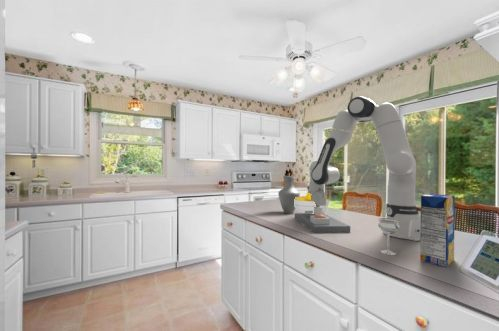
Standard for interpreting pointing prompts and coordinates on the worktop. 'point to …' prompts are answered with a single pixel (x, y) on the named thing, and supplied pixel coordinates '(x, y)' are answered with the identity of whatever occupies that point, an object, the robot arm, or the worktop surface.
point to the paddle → (317, 210)
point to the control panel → (322, 223)
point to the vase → (288, 195)
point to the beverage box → (437, 229)
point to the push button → (319, 216)
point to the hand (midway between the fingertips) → (316, 210)
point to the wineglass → (388, 230)
